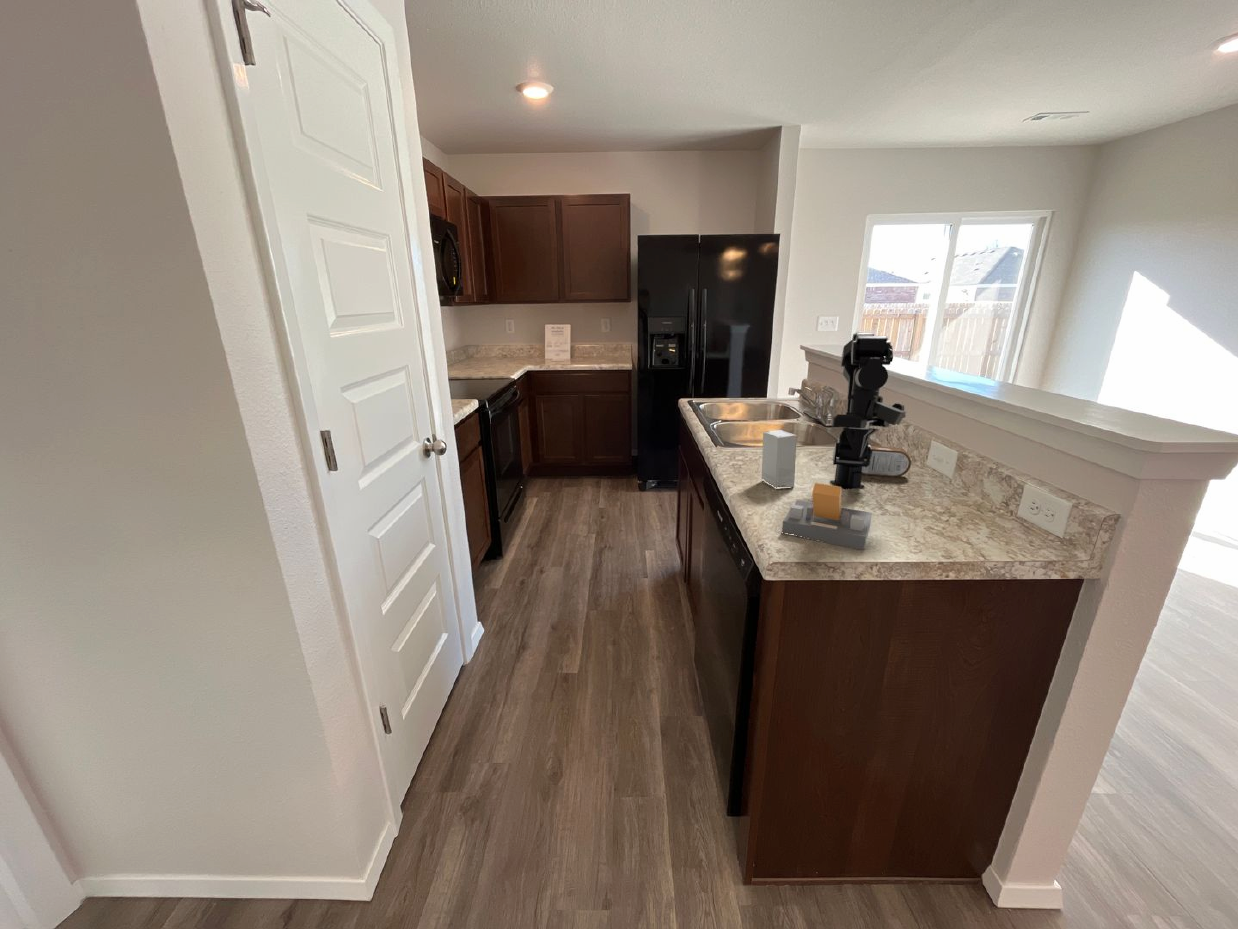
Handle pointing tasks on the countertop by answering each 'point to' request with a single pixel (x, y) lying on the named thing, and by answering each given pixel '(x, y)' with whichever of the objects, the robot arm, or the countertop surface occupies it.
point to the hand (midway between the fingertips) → (857, 457)
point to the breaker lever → (827, 501)
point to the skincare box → (779, 458)
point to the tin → (888, 462)
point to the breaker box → (828, 525)
